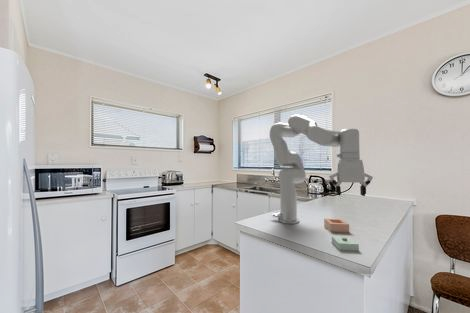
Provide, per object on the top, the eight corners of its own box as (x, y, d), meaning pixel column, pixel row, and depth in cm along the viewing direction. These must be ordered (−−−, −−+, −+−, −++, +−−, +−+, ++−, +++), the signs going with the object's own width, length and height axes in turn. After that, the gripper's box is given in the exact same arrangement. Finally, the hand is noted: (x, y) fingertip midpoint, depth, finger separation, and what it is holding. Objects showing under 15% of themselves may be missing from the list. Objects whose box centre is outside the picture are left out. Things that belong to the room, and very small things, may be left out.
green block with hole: (338, 249, 80) (338, 241, 80) (331, 242, 87) (331, 234, 87) (358, 250, 79) (358, 242, 79) (349, 243, 86) (349, 235, 86)
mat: (338, 251, 79) (338, 250, 79) (330, 243, 87) (330, 241, 87) (359, 252, 79) (359, 251, 79) (350, 243, 87) (350, 242, 87)
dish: (330, 232, 100) (330, 223, 100) (324, 226, 109) (324, 218, 109) (349, 233, 99) (349, 224, 99) (341, 227, 108) (341, 219, 108)
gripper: (330, 156, 88) (331, 195, 87) (375, 156, 84) (376, 197, 83) (327, 157, 95) (327, 193, 94) (368, 156, 91) (369, 194, 90)
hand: (350, 195), depth 89 cm, fingers open, 9 cm apart
